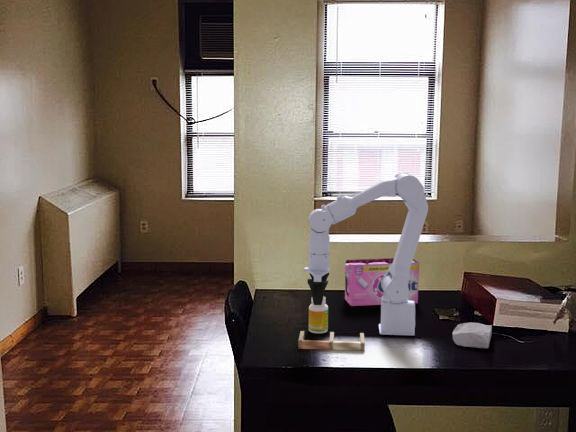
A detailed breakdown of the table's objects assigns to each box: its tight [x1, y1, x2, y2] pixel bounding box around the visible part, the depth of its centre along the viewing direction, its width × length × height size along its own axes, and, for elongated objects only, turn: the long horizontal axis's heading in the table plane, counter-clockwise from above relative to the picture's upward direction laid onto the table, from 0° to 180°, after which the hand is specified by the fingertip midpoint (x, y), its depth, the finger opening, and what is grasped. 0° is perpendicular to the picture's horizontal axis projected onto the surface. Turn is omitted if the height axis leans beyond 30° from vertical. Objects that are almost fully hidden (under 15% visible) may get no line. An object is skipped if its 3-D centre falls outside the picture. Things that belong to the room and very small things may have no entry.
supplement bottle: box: [308, 295, 329, 335], centre depth 178 cm, size 5×5×10 cm
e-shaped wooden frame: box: [297, 330, 366, 352], centre depth 167 cm, size 17×8×2 cm, turn 85°
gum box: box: [344, 257, 420, 307], centre depth 206 cm, size 24×8×14 cm, turn 100°
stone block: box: [452, 322, 493, 349], centre depth 171 cm, size 12×5×10 cm
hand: (318, 300), depth 177 cm, fingers open, 7 cm apart
